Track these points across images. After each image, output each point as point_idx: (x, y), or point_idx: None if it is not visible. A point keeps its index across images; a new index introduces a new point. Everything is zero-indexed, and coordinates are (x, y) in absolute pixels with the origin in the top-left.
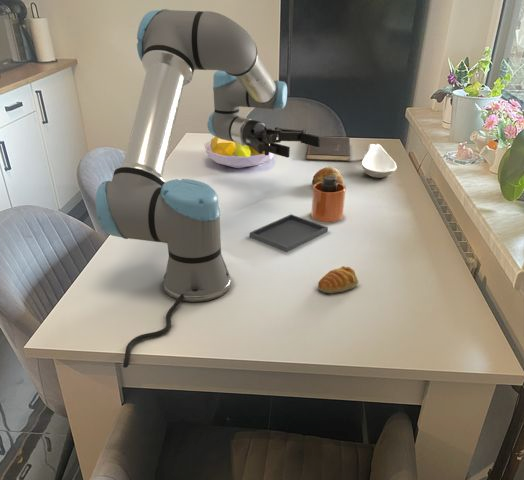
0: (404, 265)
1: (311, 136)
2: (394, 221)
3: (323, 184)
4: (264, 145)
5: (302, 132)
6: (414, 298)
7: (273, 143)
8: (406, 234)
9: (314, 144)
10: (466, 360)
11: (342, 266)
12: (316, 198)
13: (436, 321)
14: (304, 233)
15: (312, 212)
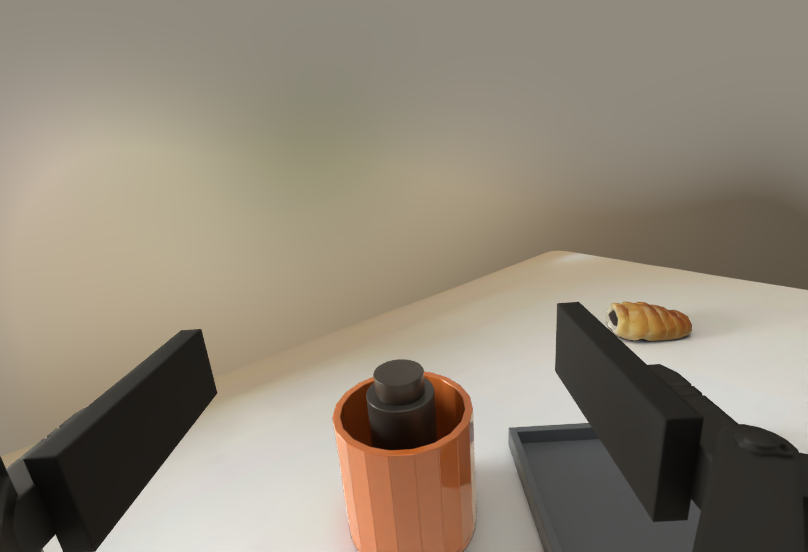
0: (482, 323)
1: (159, 373)
2: (309, 396)
3: (433, 393)
4: (802, 471)
5: (5, 469)
6: (546, 294)
7: (663, 386)
8: (364, 361)
9: (195, 405)
10: (582, 258)
11: (624, 313)
12: (473, 440)
13: (559, 277)
14: (590, 468)
15: (469, 518)
